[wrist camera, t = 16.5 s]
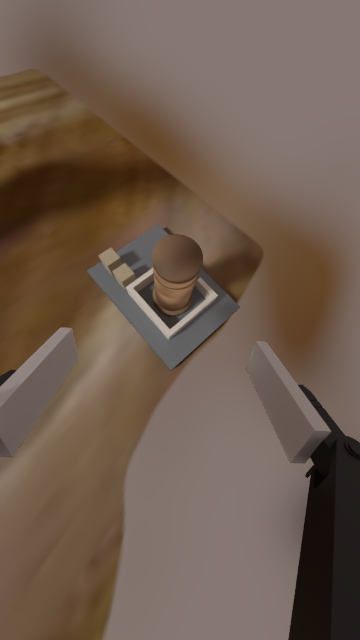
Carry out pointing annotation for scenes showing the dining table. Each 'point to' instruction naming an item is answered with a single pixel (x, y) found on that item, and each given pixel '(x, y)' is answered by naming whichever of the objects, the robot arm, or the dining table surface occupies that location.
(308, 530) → the robot arm
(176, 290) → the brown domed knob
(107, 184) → the dining table surface
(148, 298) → the board
